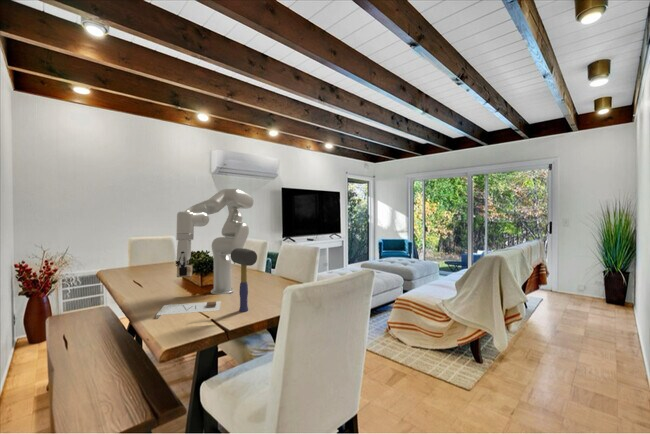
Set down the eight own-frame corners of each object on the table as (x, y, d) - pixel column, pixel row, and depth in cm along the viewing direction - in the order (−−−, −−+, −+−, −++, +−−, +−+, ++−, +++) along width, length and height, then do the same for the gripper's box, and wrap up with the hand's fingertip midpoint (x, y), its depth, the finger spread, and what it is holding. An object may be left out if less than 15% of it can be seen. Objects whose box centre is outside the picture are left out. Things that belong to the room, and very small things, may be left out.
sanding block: (179, 275, 148) (179, 265, 148) (192, 275, 149) (192, 264, 150) (176, 277, 143) (176, 266, 143) (190, 276, 145) (190, 266, 145)
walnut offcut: (207, 305, 145) (207, 302, 145) (216, 304, 146) (216, 301, 146) (206, 307, 142) (206, 304, 142) (215, 307, 143) (215, 304, 143)
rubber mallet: (258, 314, 137) (258, 249, 136) (244, 319, 131) (244, 250, 131) (243, 308, 145) (243, 246, 144) (229, 312, 140) (229, 248, 139)
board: (164, 308, 145) (164, 305, 145) (221, 304, 152) (221, 301, 152) (156, 318, 132) (156, 315, 132) (218, 313, 138) (218, 310, 138)
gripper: (180, 236, 154) (179, 271, 153) (172, 238, 137) (171, 278, 137) (196, 236, 156) (195, 271, 155) (190, 238, 139) (189, 277, 139)
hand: (184, 274), depth 146 cm, fingers closed on sanding block, 5 cm apart
